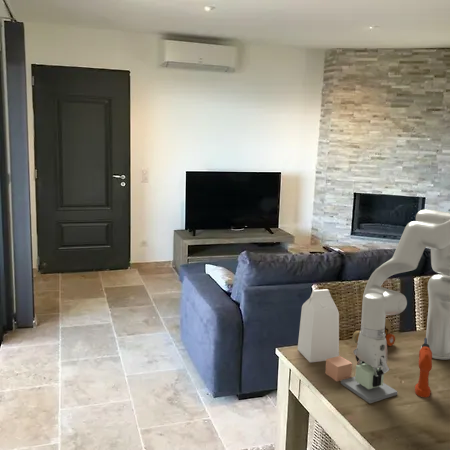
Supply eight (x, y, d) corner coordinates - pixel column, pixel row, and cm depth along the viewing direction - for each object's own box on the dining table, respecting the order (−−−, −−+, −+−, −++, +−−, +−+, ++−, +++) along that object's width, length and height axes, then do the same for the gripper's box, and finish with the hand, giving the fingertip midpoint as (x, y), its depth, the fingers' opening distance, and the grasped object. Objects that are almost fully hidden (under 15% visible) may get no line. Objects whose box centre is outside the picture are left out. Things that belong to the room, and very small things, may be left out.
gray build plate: (367, 376, 177) (367, 372, 177) (397, 394, 165) (397, 391, 164) (340, 383, 171) (341, 380, 171) (369, 403, 159) (369, 400, 159)
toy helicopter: (396, 344, 203) (399, 312, 200) (361, 356, 192) (363, 322, 189) (381, 337, 210) (383, 306, 207) (345, 348, 199) (347, 316, 196)
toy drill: (430, 369, 179) (433, 332, 175) (430, 401, 163) (434, 361, 158) (415, 366, 181) (419, 330, 176) (414, 398, 164) (418, 358, 160)
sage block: (369, 376, 172) (370, 361, 171) (383, 385, 166) (384, 369, 165) (355, 380, 169) (356, 365, 168) (368, 389, 163) (369, 373, 162)
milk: (324, 346, 201) (328, 284, 196) (338, 358, 190) (342, 293, 185) (297, 349, 198) (299, 286, 193) (310, 362, 187) (313, 296, 182)
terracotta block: (339, 370, 181) (340, 355, 180) (351, 377, 176) (352, 363, 175) (325, 373, 179) (326, 359, 177) (336, 381, 173) (337, 366, 172)
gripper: (400, 338, 158) (396, 390, 162) (363, 320, 173) (359, 367, 177) (383, 343, 155) (379, 396, 158) (346, 323, 170) (343, 372, 173)
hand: (369, 380), depth 167 cm, fingers closed on sage block, 6 cm apart
